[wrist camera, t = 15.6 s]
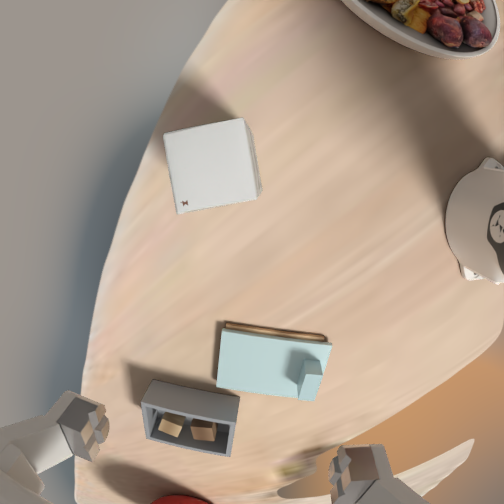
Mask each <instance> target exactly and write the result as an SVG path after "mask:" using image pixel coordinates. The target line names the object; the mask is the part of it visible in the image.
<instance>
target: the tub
mask: <svg viewBox="0 0 504 504" xmlns="http://www.w3.org/2000/svg"><path fill="white" fill-rule="evenodd" d="M239 401H240V397H236V396H230V395H224V394H219V393H213V392H208V391H203V390H198V389H193V388H188V387H183V386H179V385H174V384H170V383H166V382H162V381H158V380H154V379H153V380H152V382H151V384H150V385H149V387H148V389H147V391H146V393H145V395H144V396H143V398H142V400H141V407H142V415H143V421H144V428H145V434H146V438H147V439H150V440H154V441H157V442H161V443H165V444H169V445H173V446H177V447H181V448H185V449H190V450H194V451H199V452H204V453H209V454H215V455H220V456H227V457H230V455H231V449H232V443H233V437H234V431H235V425H236V419H237V413H238V407H239ZM165 412H169V413H173V414H178V415H182V416H186V418H185V421H184V424H183V426H182V429H181V431H180V433H179V435H178V437H175V436H172V435H170V434H167V433H165V432H163V431H160V430H158V429H159V426H160V423H161V420H162V418H163V415H164V413H165ZM193 418H196V419H201V420H206V421H211V422H216V423H218V428H217V432H216V436H215V441H206V440H196V439H194V438H193V434H192V431H191V427H190V426H191V423H192V419H193Z"/></svg>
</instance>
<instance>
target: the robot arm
mask: <svg viewBox="0 0 504 504" xmlns="http://www.w3.org/2000/svg"><path fill="white" fill-rule="evenodd" d="M495 168H496V169H495ZM446 235H447V239H448V243H449V245H450V248H451V250H452V252H453V253H454V255H455V256H456V258H457V259H458V261H459V263H460V269H461V274H462V276H463V278H464V279H466V280H478V279H487V280H489V281H490V282H492V283H494V284H499V283H504V166H503V165H501V164H500V163H499V162H498V161H496V160H495V159H493V158H490V157H487V158H486V159H484V161H483V162H482V163H481V165H480V166H479V168H478V169H476V170H475V171H473V172H470V173H468V174H467V175H465V176H464V177H463V178H462V179H461V180H460V181H459V182H458V184H457V185H456V186H455V188H454V190H453V192H452V194H451V196H450V199H449V202H448V206H447V211H446ZM105 413H106V409H105V405H103V404H100V403H98V402H95V401H93V400H90V399H88V398H86V397H83V396H81V395H79V394H76V393H74V392H71V391H69V390H68V391H66V392H64V393H63V394H62V396H61V397H60V398H59V399H58V400H57V402H56V403H55V404H54V405H53V406H52V408H51V409H50V410H49V411H48V413H47V414H46V415H45V416H43V415H40V416H37V417H34V418H31V419H27V420H25V421H21V422H18V423H15V424H12V425H9V426H5V427H2V428H0V504H53V503H51V502H49V501H48V500H46V499H44V498H43V497H41V496H40V494H41V493H42V491H43V489H44V487H45V486H44V483H43V482H42V481H41V479H40V478H39V476H38V475H37V474H38V473H41V472H42V471H44V470H46V469H48V468H50V467H52V466H54V465H56V464H58V463H60V462H61V461H63V460H65V459H67V458H69V457H71V456H73V454H74V455H76V456H79V457H81V458H83V459H86V460H88V461H91V462H93V461H94V459H95V458H96V456H97V454H98V452H99V451H100V449H99V445H98V444H100V443H103V442H105V440H106V438H107V436H108V432H109V420H108V418H107V417H106V416H105V415H104V414H105ZM337 454H338V456H336V457H335V458H333V459H332V461H331V463H330V467H329V481H330V482H331V483H332V484H333V485H334V486H333V488H332V489H331V491H330V493H331V501H332V504H430V503H429V502H427V501H426V500H425V499H423V498H422V497H421V496H420V495H418V494H417V493H416V492H415V491H413V490H412V489H411V488H410V487H408V486H407V485H406V484H405V483H403V482H402V481H401V480H400V479H398V478H394V477H393V474H392V471H391V467H390V464H389V461H388V458H387V454H386V451H385V448H384V446H383V445H382V444H372V445H367V444H365V445H342V446H340V447H339V449H338V451H337Z"/></svg>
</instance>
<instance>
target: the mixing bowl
mask: <svg viewBox="0 0 504 504" xmlns="http://www.w3.org/2000/svg"><path fill="white" fill-rule="evenodd" d="M151 504H209V503H207V502H205V501H203V500H200V499H198V498H194V497H190V496H185V495H171V496H165V497H161V498H159V499H157V500H155V501H154V502H152V503H151Z"/></svg>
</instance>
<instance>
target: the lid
mask: <svg viewBox="0 0 504 504" xmlns="http://www.w3.org/2000/svg"><path fill="white" fill-rule="evenodd" d="M331 348H332V343H329V342H319V341H310V340H301V339H293V338H285V337H277V336H270V335H263V334H256V333H249V332H243V331H236V330H230V329H224V328H223V329H222V335H221V344H220V354H219V364H218V374H217V385H216V387H220V388H225V389H232V390H238V391H244V392H251V393H259V394H266V395H275V396H284V397H294V398H298V400H307V401H314V400H315V397H316V394H317V392H318V389H319V386H320V383H321V380H322V377H323V373H324V370H325V367H326V364H327V361H328V358H329V355H330V351H331Z"/></svg>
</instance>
